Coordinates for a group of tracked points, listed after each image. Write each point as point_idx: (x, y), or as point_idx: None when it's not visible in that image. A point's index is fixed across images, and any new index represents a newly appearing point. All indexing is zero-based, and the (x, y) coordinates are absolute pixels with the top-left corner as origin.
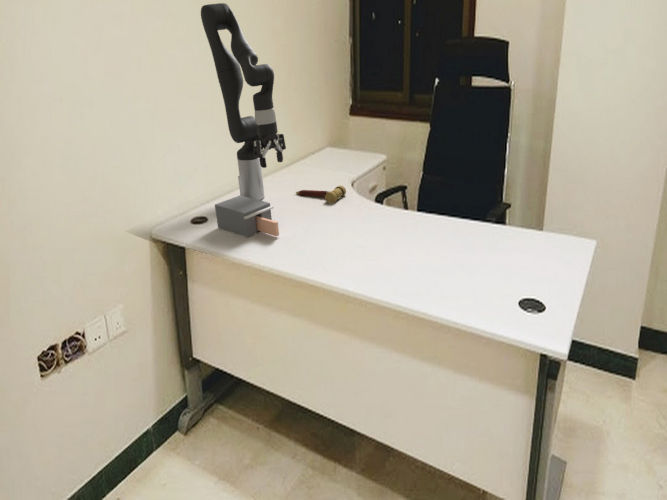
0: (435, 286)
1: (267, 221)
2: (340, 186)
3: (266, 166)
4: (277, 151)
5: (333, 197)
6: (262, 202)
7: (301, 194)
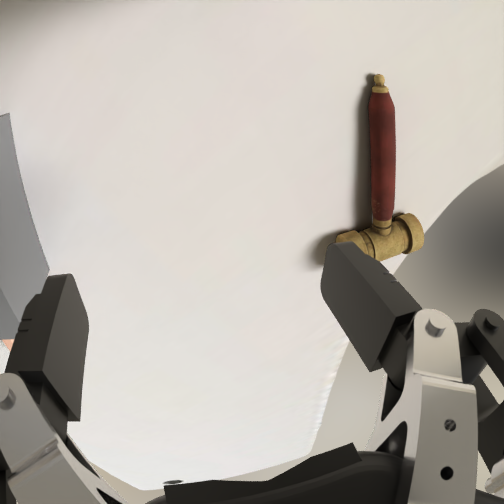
0: (141, 467)
1: (7, 344)
2: (416, 247)
3: (85, 331)
4: (400, 344)
5: None
6: (5, 316)
7: (369, 108)
